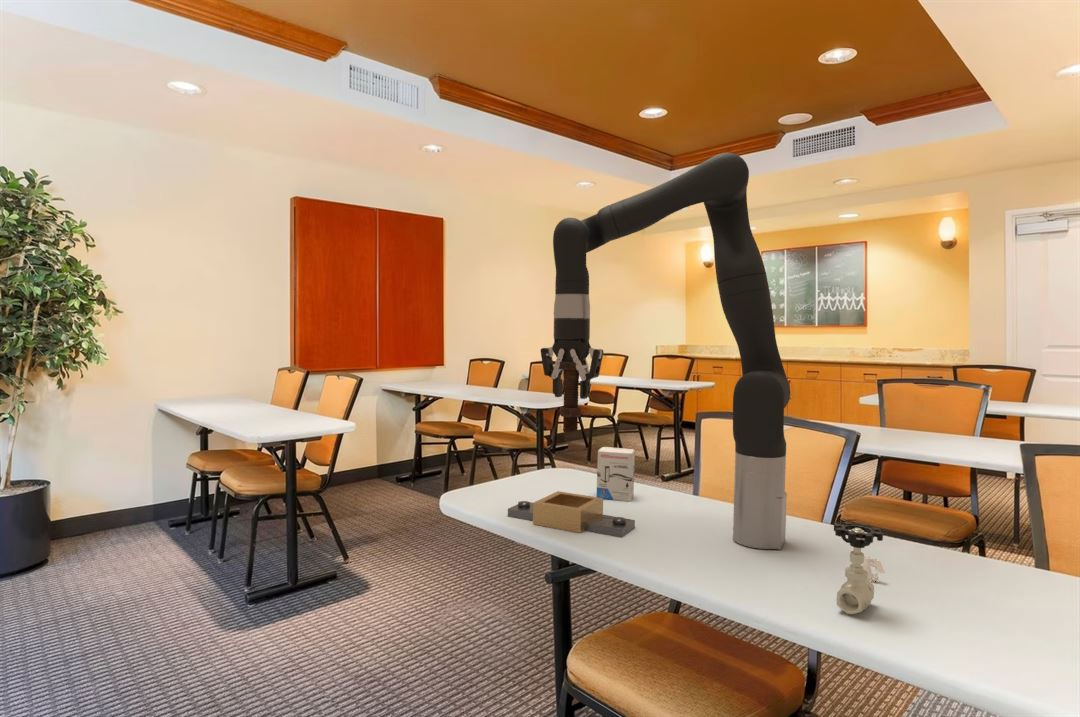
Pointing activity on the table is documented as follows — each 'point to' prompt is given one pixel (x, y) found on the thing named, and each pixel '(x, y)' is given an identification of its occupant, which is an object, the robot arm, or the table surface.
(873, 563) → the clip
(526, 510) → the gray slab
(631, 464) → the ink box
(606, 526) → the gray knob plate
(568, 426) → the bolt
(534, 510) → the square wooden frame
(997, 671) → the table surface
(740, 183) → the robot arm
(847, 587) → the valve
